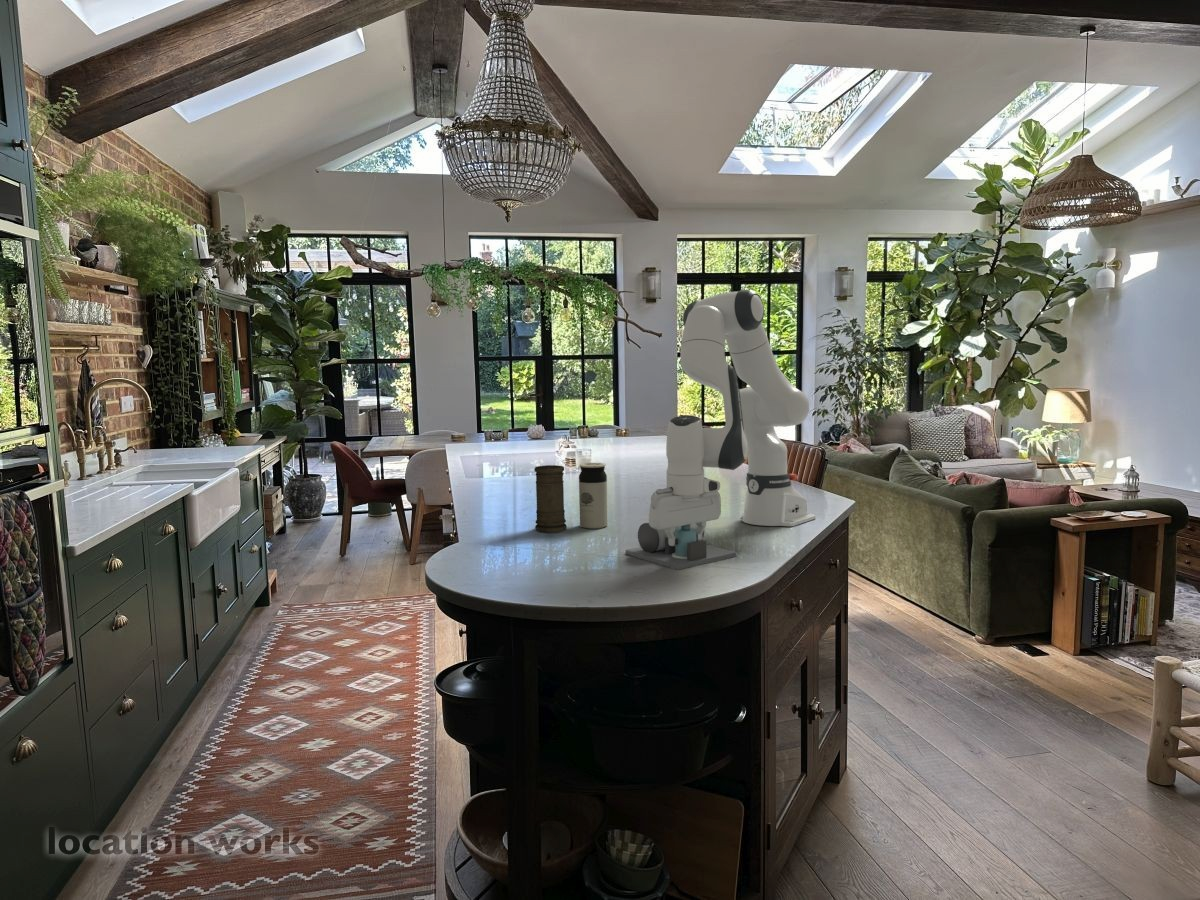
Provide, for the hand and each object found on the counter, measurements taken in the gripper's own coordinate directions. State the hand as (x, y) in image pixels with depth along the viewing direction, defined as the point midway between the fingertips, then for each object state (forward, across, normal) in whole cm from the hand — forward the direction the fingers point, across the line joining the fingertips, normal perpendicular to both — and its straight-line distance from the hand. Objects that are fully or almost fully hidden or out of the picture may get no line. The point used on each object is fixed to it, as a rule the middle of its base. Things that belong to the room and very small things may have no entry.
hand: (685, 542), depth 187 cm
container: (+4, -6, +49) cm, 50 cm away
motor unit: (+4, +2, +4) cm, 6 cm away
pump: (+3, 0, 0) cm, 3 cm away
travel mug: (+4, +6, +45) cm, 46 cm away
